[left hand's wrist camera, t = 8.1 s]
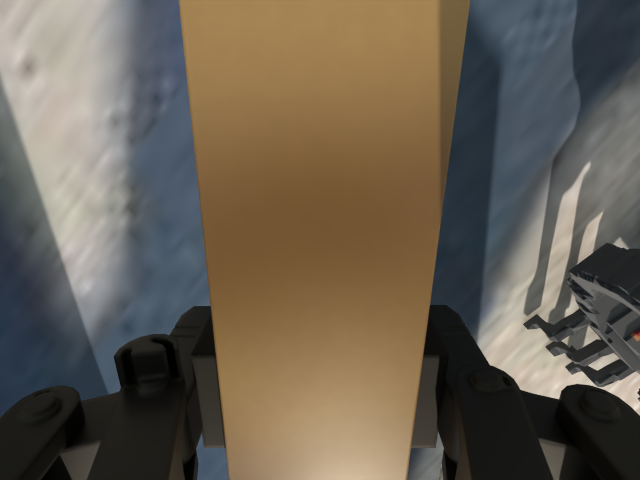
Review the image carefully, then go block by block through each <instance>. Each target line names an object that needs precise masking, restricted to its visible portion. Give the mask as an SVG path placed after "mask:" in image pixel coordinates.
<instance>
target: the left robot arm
mask: <svg viewBox="0 0 640 480" xmlns="http://www.w3.org/2000/svg"><path fill="white" fill-rule="evenodd" d="M114 360H115V364H116V368H117V372H118V377H119V381H120V385H121V389H120V391H119V392H116V393H113V394H110V395H106V396H101V397H97V398H93V399H88V400H84V401H81V399H80V396H79V393H78V392H77V391H76V390H75V389H74V388H73V387H67V386H55V387H49V388H46V389H43V390H39V391H36V392H34V393H32V394H30V395H28V396H27V397H25V398H23V399H21V400H20V401H19V402H17V403H16V404H15V405H13V406H12V407H11V408H10V409H9V410H8V411H7V412H6V413H5V414H4V415H3V416H2V417H1V418H0V480H197V473H198V459H197V452H196V447H197V445H198V442H199V439H200V436H201V433H202V436H203V443H204V448H225V438H224V428H223V419H222V409H221V400H220V390H219V381H218V371H217V361H216V352H215V342H214V333H213V323H212V314H211V306H194V307H192V308H191V309H190V310H188V311H187V312H186V313H184V314H183V315H182V316H181V317H180V319H179V320H178V322H177V324H176V325H175V328H174V329H173V330H172V332H171V334H170V336H169V335H166V334H152V335H147V336H143V337H139V338H137V339H135V340H132V341H130V342H128V343H127V344H125V345H124V346H123V347H121V348H120V349H119V350H118V351H117V353H116V354H115V355H114ZM438 432H439V435H440V437H441V440H442V443H443V446H444V452H443V458H442V465H441V471H440V477H439V480H640V416H639V415H638V414H637V413H636V412H635V411H634V410H633V409H632V408H631V407H630V406H629V405H628V404H626V403H625V402H624V401H623V400H621V399H620V398H619V397H617V396H615V395H613V394H611V393H609V392H607V391H605V390H603V389H600V388H597V387H593V386H590V385H581V384H575V385H569V386H567V387H565V388H564V389H563V390H562V391H561V395H560V398H559V399H554V398H550V397H546V396H541V395H537V394H532V393H529V392H525V391H522V390H520V389H519V386H518V385H517V383H516V382H515V380H514V379H513V378H512V377H511V376H509V375H508V374H507V373H506V372H504V371H502V370H500V369H498V368H496V367H494V366H490V365H489V363H488V361H487V360H486V358H485V357H484V355H483V353H482V352H481V350H480V348H479V347H478V345H477V344H476V342H475V340H474V339H473V337H472V336H470V332H469V331H468V329H467V327H465V324H464V323H463V321H462V319H461V318H460V316H459V314H457V313H456V312H455V311H453V310H452V309H451V308H449V307H448V306H447V305H430V308H429V315H428V323H427V330H426V338H425V346H424V353H423V361H422V368H421V376H420V383H419V391H418V398H417V406H416V413H415V421H414V428H413V436H412V443H411V448H436V441H437V434H438Z"/></svg>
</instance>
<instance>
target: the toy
mask: <svg viewBox="0 0 640 480" xmlns="http://www.w3.org/2000/svg"><path fill="white" fill-rule="evenodd" d="M569 273H570V278H568V279H567V283H568V286H569V288H570V290H571V292H572V293H573V295H574V296H575V298H576V302H577V304H578V306H579V308H580V309H578V310H577V311H576V312H574V313H573V314H571V315H569V316H567V317H566V318H564V319H562V320H560V321H559V322H557V323H556V324H554V325H552V324H550V323H547V322H545V321H544V320H543V319H541V318H540V317H539V316H538V315H537V314H536V315H535V316H534V317H532V318H531V319H530V320H528V321H527V322H526V323H524V324H523V325H524V326H525V327H526V328H527V329H537V328H541V329H542V330H543V331H544V332H545V333H546V334H547V335H548V336H549V338H551V339H552V340H553V342H552V343H550V344H549V345H548V346H546V348H547V349H548V350H549V351H550V352H551V353H552V354H553V356H554V357H555V356H557V355H560V354H563V353H565V354H566V355H567V356H568V357H569V358H570V359H571V360H572V361H573V362H571V363H570V364H568V365H567V366H566V368H567V370H568V371H569V372H570V373H571V374H572V375H573V374H575V373H577V372H581V371H583V372H584V373H585V374H586V376H587V377H588V378H589V379H590V380H591V381H592V382H593V383H594V384H595V385H597V386H598V387H604V386H607V385H609V384H611V383H614V382H616V381H617V380H622V379H624V378H625V377H627V376H629V375H630V374H632V373H633V372H636V371H637V372H638V373H639V374H640V249H628V250H627V249H625V248H619V247H617V246H615V245H613V244H609V243H606V244H605V245H603V246H602V247H601V248H599V249H598V250H597V251H595V252H594V253H592V254H591V255H590V256H588V257H587V258H586V259H584V260H583V261H582V262H580V263H579V264H578V265H576V266H575V267H574V268H572V269H571V270H570V271H569ZM587 325H589V326H590V327H591V328H592V329H593V330H594V332H596V333H597V334H598V336H599V337H600V338H601V340H595V341H593V342H592V343H590V344H588V345H587V346H585V347H583V348H582V349H580V350H576V349H575V348H574V347H573V346H571V347H570V348H569V347H568V346H567V345H566V344H565V343H563V342H561V340H563V339H564V338H566V337H567V336H569V335H571V334H572V335H575V334H576V333H577V332H579V331H580V330H581V329H582V328H584V327H585V326H587ZM611 353H615V354H616V355H617V356H618V357H619V358H620V359H619V360H617V361H615V362H613V363H611V364H609V365H607V366H605V367H603V368H602V369H600V370H598V371H597V370H595V369H593V368H591V367H589V366H588V365H589V364H591V363H592V362H594V361H596V360H597V359H599V358H600V357H602V356H606V355H609V354H611ZM638 394H639V395H640V389H639V391H638ZM638 400H639V401H640V397H639V398H638Z"/></svg>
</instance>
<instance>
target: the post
mask: <svg viewBox="0 0 640 480" xmlns="http://www.w3.org/2000/svg"><path fill="white" fill-rule="evenodd" d="M469 6H470V0H179V7H180V17H181V26H182V36H183V46H184V55H185V65H186V74H187V84H188V93H189V103H190V113H191V122H192V132H193V141H194V151H195V160H196V170H197V180H198V189H199V199H200V208H201V218H202V227H203V237H204V247H205V256H206V266H207V275H208V285H209V294H210V304H211V314H212V323H213V333H214V342H215V352H216V361H217V371H218V381H219V390H220V400H221V409H222V419H223V428H224V438H225V448H226V457H227V467H228V476H229V480H407V474H408V466H409V459H410V451H411V443H412V436H413V428H414V421H415V413H416V406H417V398H418V391H419V383H420V376H421V368H422V361H423V353H424V346H425V338H426V330H427V323H428V315H429V308H430V300H431V293H432V285H433V278H434V270H435V263H436V255H437V248H438V240H439V232H440V225H441V217H442V210H443V202H444V195H445V187H446V180H447V172H448V165H449V157H450V150H451V142H452V135H453V127H454V119H455V112H456V104H457V97H458V89H459V82H460V74H461V67H462V59H463V52H464V44H465V37H466V29H467V22H468V14H469Z"/></svg>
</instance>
